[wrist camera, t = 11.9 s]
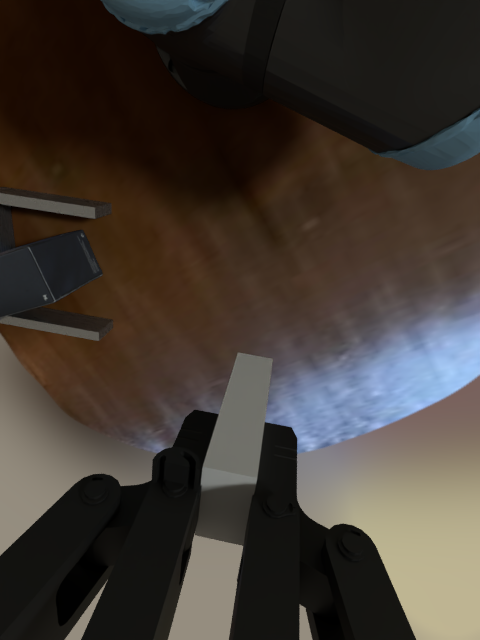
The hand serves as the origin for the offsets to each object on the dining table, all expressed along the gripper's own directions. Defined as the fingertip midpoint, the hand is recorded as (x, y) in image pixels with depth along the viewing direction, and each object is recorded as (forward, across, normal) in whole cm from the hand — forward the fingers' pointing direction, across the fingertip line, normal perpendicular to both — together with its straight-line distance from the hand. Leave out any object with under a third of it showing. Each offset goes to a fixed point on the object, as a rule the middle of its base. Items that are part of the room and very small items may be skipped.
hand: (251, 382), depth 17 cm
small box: (+31, -28, -7) cm, 42 cm away
